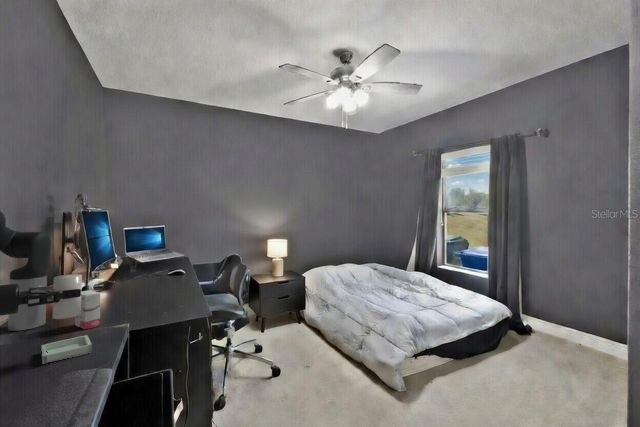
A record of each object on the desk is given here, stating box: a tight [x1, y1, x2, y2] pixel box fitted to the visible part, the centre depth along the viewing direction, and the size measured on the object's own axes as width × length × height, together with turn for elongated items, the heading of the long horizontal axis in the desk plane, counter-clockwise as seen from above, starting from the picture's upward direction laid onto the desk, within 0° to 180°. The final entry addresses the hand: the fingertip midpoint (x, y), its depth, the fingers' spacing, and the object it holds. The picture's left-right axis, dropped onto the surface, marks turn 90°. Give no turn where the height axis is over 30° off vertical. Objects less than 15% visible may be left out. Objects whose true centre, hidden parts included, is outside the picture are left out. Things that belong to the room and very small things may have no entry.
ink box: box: [74, 289, 101, 330], centre depth 101 cm, size 9×5×12 cm, turn 58°
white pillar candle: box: [51, 273, 83, 320], centre depth 80 cm, size 6×6×11 cm
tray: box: [41, 334, 93, 365], centre depth 80 cm, size 10×10×2 cm
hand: (79, 290), depth 82 cm, fingers closed on white pillar candle, 6 cm apart
